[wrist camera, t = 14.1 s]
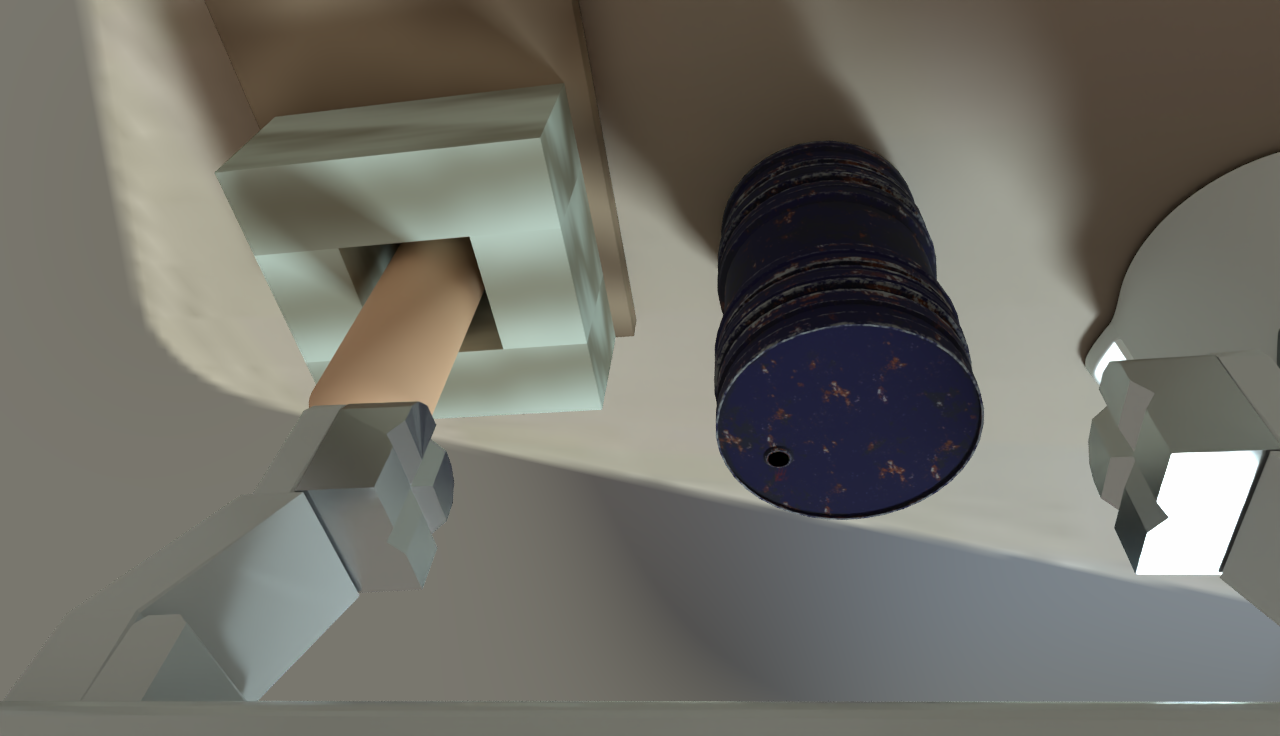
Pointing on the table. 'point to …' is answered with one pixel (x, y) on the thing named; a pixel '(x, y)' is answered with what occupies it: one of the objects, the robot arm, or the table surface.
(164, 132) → the table surface
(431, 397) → the peg
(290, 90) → the socket board
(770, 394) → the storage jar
